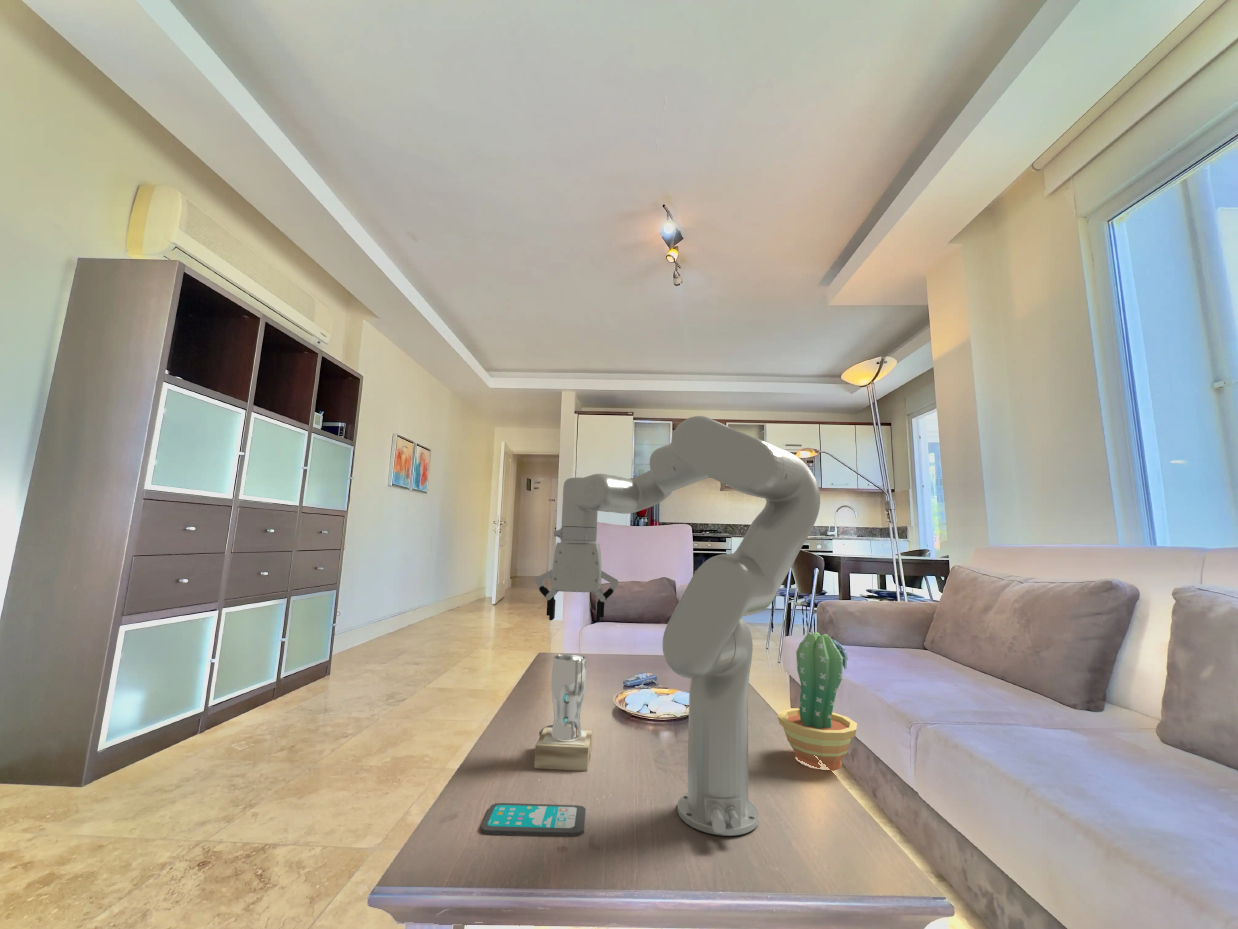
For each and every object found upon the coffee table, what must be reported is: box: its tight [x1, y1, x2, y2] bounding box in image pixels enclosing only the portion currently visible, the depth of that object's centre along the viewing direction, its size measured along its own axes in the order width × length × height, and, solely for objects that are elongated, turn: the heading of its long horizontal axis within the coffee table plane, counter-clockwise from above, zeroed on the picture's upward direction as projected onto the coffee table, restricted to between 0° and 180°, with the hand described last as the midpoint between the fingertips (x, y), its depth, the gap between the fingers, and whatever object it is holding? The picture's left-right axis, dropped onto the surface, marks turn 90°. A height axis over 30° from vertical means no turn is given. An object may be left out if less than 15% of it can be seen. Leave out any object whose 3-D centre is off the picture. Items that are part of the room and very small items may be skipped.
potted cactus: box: [777, 631, 858, 772], centre depth 107 cm, size 15×15×25 cm
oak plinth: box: [534, 726, 594, 772], centre depth 102 cm, size 10×10×4 cm
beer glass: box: [550, 653, 587, 742], centre depth 103 cm, size 7×7×15 cm
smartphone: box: [480, 802, 587, 838], centre depth 79 cm, size 9×1×15 cm
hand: (575, 620), depth 106 cm, fingers open, 9 cm apart
